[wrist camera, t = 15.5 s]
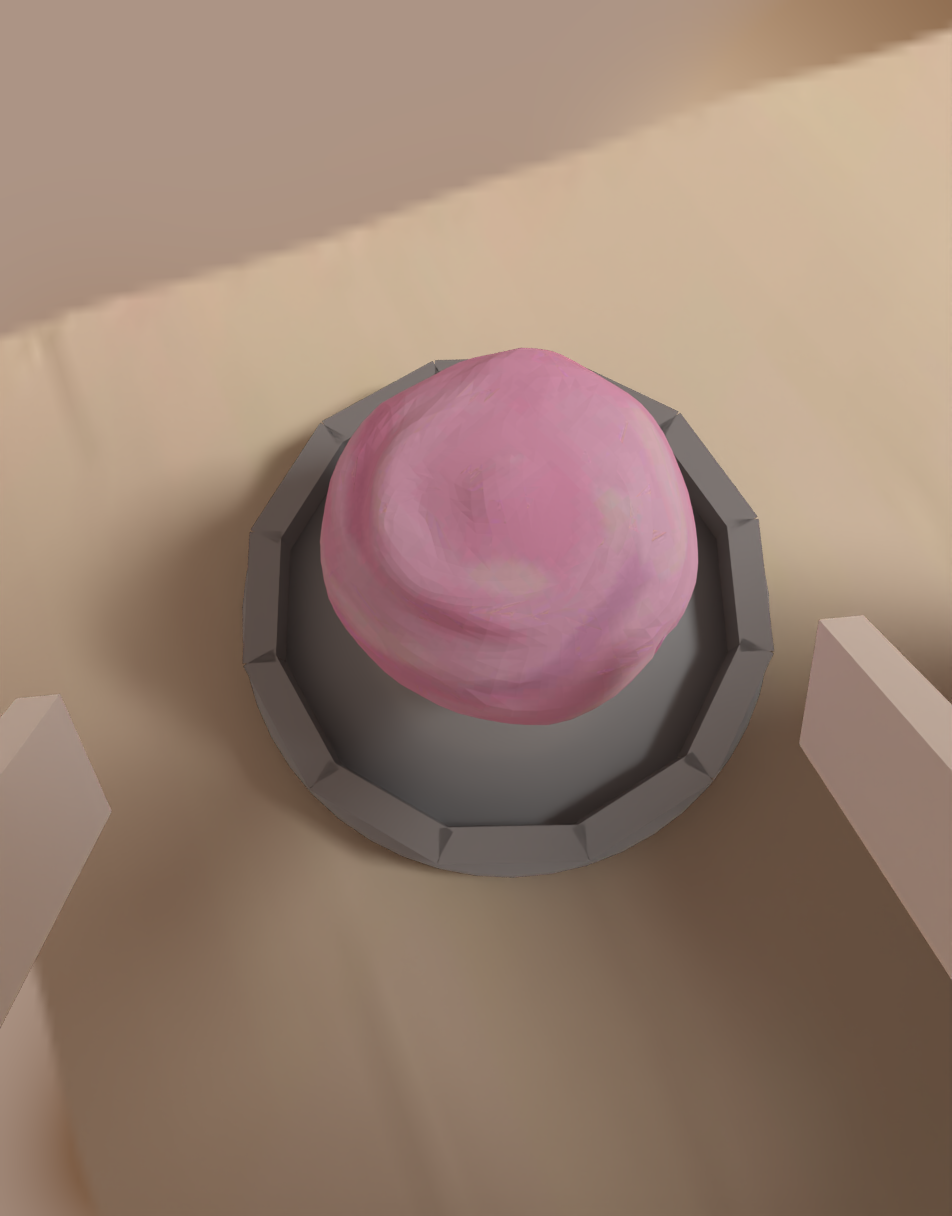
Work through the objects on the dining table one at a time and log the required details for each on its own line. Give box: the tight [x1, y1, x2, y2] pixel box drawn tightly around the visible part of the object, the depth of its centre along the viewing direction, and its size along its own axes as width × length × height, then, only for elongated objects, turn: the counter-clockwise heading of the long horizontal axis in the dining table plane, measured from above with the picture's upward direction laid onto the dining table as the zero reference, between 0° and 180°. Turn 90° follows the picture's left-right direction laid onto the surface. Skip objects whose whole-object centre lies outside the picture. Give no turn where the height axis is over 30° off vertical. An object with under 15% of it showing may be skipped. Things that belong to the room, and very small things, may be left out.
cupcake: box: [320, 348, 698, 725], centre depth 20 cm, size 9×9×10 cm
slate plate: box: [243, 359, 774, 877], centre depth 24 cm, size 17×17×2 cm
